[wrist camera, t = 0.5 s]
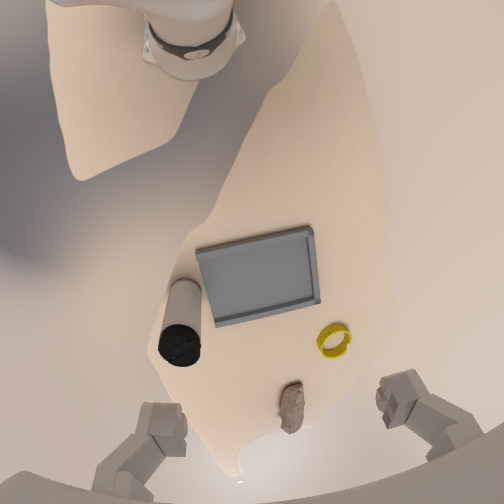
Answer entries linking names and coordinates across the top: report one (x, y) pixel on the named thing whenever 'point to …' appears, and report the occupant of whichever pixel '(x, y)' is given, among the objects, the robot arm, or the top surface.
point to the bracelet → (327, 333)
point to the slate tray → (260, 276)
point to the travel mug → (182, 324)
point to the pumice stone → (292, 408)
